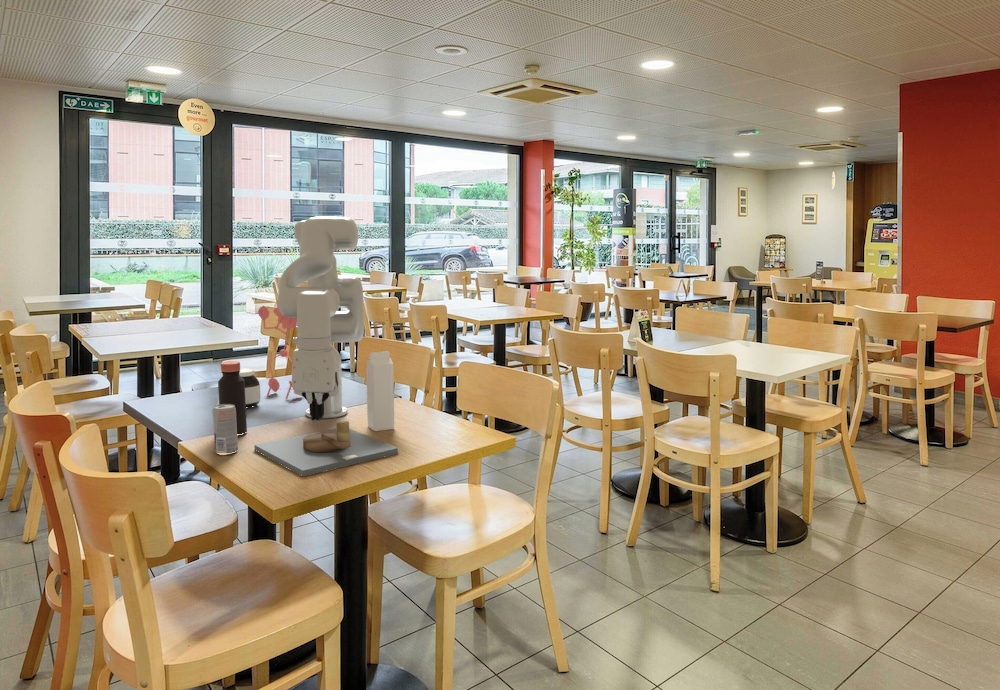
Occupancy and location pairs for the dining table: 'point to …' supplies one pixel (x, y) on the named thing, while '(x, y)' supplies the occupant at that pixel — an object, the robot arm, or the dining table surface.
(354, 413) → the dining table surface
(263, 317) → the pink flower figure
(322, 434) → the dial
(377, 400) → the milk
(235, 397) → the bottle
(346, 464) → the base plate
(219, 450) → the energy drink
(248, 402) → the spread jar
